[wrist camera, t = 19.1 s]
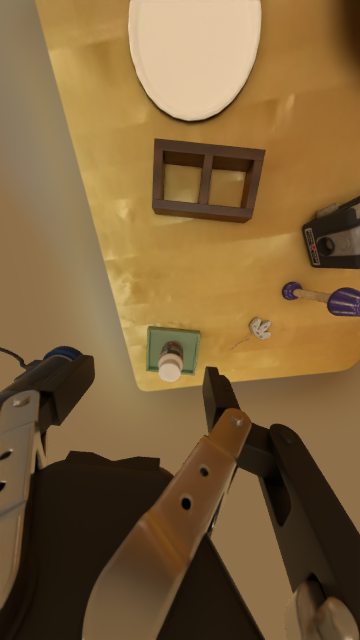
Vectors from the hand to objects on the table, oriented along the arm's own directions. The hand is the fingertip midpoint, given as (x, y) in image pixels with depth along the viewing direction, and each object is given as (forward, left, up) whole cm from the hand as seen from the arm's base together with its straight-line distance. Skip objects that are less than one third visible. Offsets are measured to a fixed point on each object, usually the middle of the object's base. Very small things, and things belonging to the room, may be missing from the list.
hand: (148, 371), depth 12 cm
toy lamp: (+28, +4, -30) cm, 41 cm away
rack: (+4, +22, -30) cm, 38 cm away
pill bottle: (+1, -14, -30) cm, 33 cm away
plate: (0, +42, -30) cm, 52 cm away
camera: (+33, +17, -30) cm, 48 cm away
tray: (+1, -14, -30) cm, 33 cm away
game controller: (+20, -8, -30) cm, 37 cm away
